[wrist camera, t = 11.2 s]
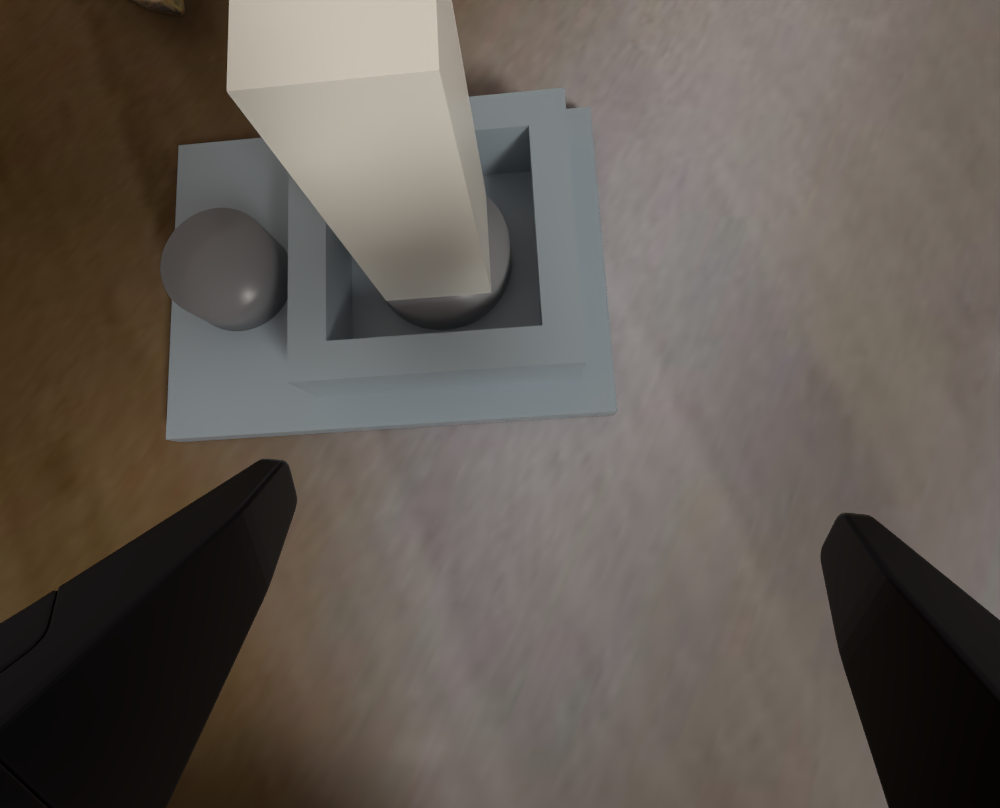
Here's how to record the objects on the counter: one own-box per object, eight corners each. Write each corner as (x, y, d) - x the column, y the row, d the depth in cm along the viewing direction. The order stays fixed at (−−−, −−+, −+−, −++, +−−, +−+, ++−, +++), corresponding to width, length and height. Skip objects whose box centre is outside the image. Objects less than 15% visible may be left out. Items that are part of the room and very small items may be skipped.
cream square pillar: (515, 324, 23) (484, 104, 10) (377, 334, 24) (183, 133, 11) (507, 194, 24) (470, -151, 11) (374, 206, 25) (194, -118, 12)
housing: (614, 414, 23) (628, 397, 19) (181, 441, 24) (111, 430, 21) (588, 121, 26) (597, 53, 22) (191, 158, 27) (131, 99, 23)
